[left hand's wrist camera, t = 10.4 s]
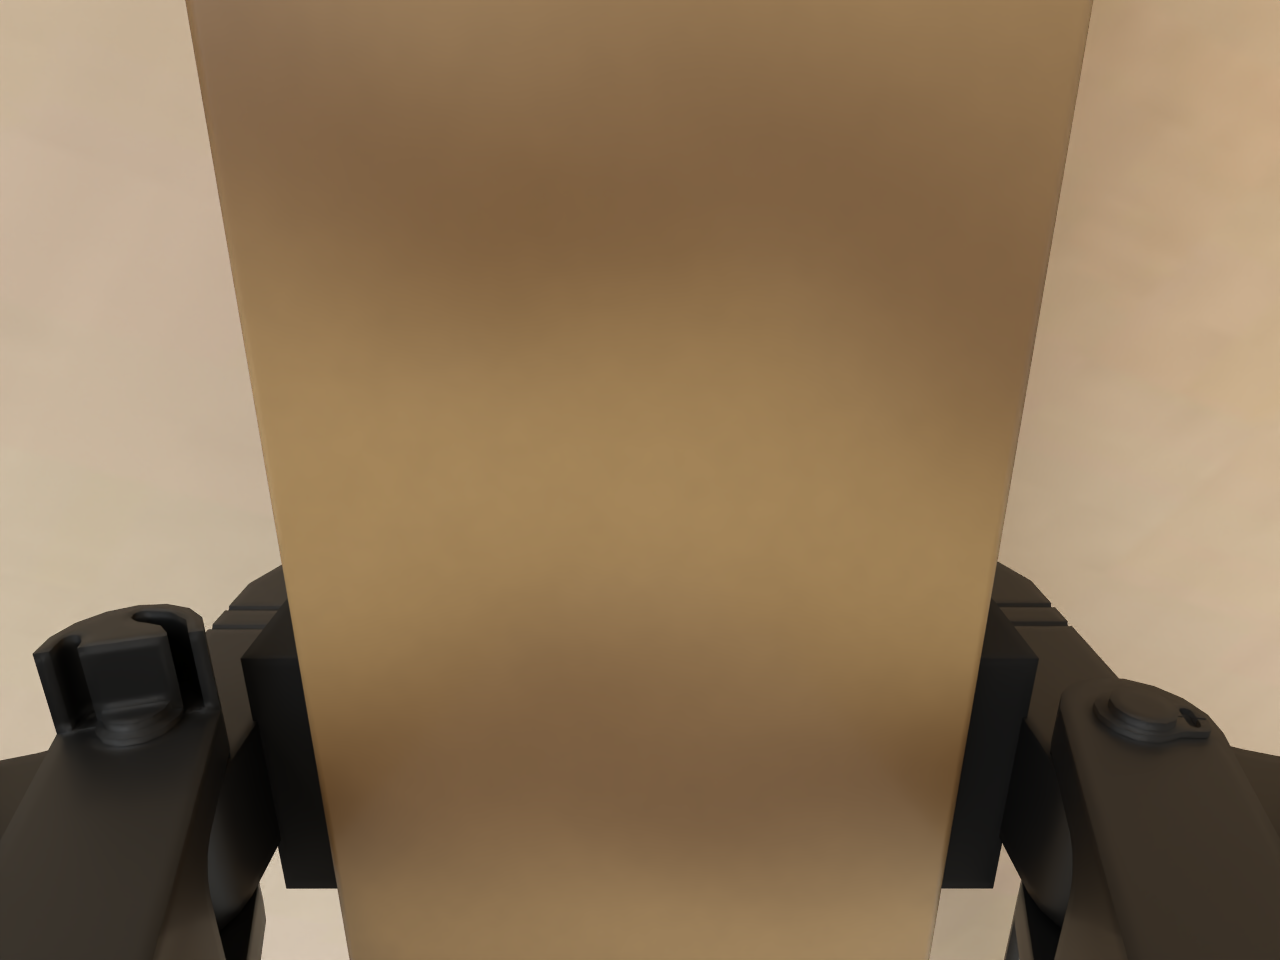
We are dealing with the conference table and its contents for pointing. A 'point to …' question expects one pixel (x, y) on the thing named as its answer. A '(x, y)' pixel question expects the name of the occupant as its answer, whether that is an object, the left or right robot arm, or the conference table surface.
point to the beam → (639, 444)
